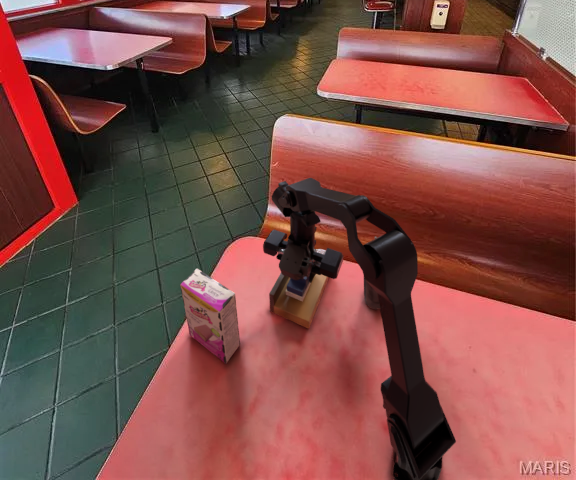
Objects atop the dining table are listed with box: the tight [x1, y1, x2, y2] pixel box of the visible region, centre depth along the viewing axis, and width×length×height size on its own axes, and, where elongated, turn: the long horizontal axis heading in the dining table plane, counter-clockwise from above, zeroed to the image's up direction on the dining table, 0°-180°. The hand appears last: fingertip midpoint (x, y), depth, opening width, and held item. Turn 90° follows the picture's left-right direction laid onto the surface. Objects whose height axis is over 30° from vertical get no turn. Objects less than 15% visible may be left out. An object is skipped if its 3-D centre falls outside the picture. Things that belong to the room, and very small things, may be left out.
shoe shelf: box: [268, 272, 330, 330], centre depth 82 cm, size 10×16×6 cm, turn 155°
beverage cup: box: [363, 236, 380, 310], centre depth 77 cm, size 7×7×20 cm
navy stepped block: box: [286, 261, 313, 302], centre depth 81 cm, size 10×4×5 cm, turn 155°
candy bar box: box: [179, 268, 241, 365], centre depth 69 cm, size 11×5×16 cm, turn 58°
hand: (302, 277), depth 82 cm, fingers closed on navy stepped block, 4 cm apart
